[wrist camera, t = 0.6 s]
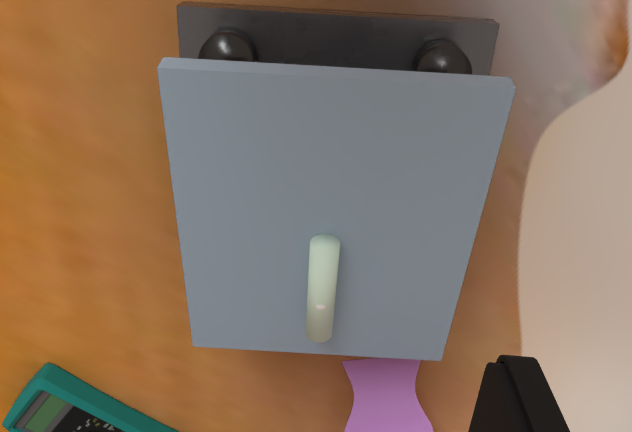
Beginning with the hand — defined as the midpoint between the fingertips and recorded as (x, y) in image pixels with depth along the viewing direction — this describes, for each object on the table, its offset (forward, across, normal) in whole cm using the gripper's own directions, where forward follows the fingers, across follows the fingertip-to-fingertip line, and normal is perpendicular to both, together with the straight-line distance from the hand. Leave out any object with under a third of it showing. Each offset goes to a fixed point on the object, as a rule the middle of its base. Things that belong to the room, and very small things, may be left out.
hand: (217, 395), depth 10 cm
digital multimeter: (+30, +15, +33) cm, 47 cm away
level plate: (+21, -2, +8) cm, 23 cm away
